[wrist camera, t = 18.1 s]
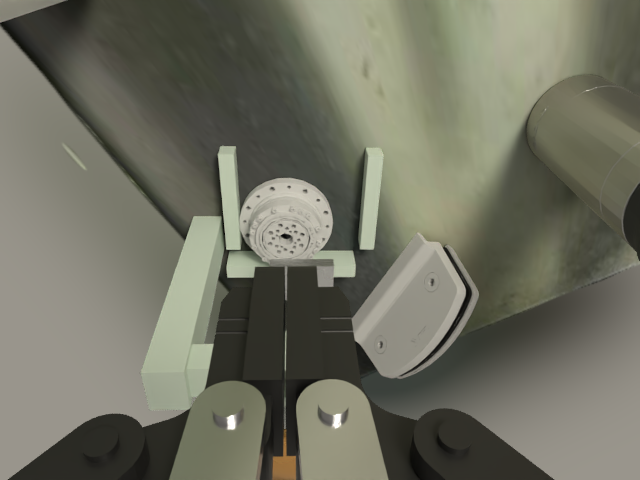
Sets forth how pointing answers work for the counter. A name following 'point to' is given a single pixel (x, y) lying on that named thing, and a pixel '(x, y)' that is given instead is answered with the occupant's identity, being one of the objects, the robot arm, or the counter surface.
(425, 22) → the counter surface
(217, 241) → the frame
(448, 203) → the counter surface
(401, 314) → the grey curved housing
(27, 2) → the bottle
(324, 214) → the mechanical component
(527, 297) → the counter surface
